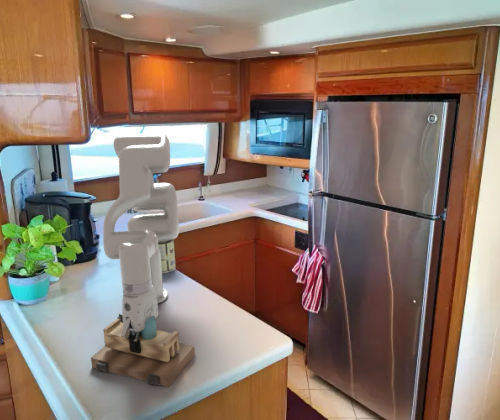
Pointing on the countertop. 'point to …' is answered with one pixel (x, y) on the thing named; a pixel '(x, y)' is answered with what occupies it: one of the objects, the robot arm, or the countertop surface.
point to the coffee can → (167, 255)
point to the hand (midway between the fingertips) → (143, 344)
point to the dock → (143, 364)
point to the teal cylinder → (149, 329)
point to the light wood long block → (143, 342)
